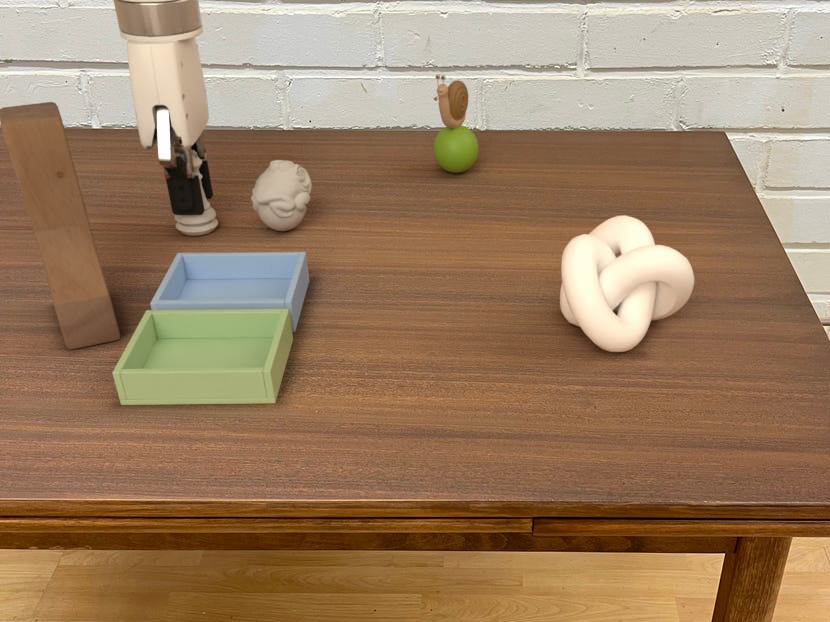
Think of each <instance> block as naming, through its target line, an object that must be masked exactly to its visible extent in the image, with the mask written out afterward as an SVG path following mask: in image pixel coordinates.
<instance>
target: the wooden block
mask: <svg viewBox="0 0 830 622" xmlns="http://www.w3.org/2000/svg"><path fill="white" fill-rule="evenodd" d="M0 128H1V132H2V134H3V138H4V141H5V144H6V147H7V151H8V154H9V157H10V160H11V164H12V166H13V169H14V173H15V177H16V180H17V183H18V186H19V190H20V193H21V196H22V200H23V202H24V206H25V209H26V213H27V216H28V218H29V222H30V225H31V228H32V232H33V235H34V238H35V242H36V245H37V248H38V252H39V255H40V259H41V261H42V265H43V269H44V272H45V276H46V278H47V284H48V287H49V291H50V295H51V300H52V304H53V308H54V311H55V314H56V318H57V321H58V325H59V327H60V331H61V334H62V337H63V341H64V345H65V346H66V347H67V349H68V350H75V349H79V348H86V347H91V346H95V345H100V344H105V343H110V342H116V341H118V340H120V338H121V333H120V328H119V326H118V325H119V324H118V321H117V317H116V314H115V310H114V306H113V302H112V299H111V295H110V292H109V288H108V284H107V281H106V278H105V275H104V271H103V267H102V264H101V260H100V257H99V256H100V255H99V253H98V249H97V246H96V242H95V241H96V240H95V238H94V235H93V230H92V227H91V223H90V219H89V215H88V212H87V209H86V205H85V201H84V197H83V193H82V190H81V185H80V182H79V178H78V175H77V171H76V167H75V163H74V160H73V156H72V152H71V148H70V145H69V141H68V138H67V137H68V136H67V134H66V130H65V129H66V128H65V126H64V122H63V119H62V115H61V113H60V109H59V106H58V104H57V103H56V102H53V101H47V102H40V103H39V102H38V103H30V104H22V105H21V104H20V105H14V106H6V107H1V108H0Z"/></svg>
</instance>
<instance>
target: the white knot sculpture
mask: <svg viewBox="0 0 830 622" xmlns="http://www.w3.org/2000/svg"><path fill="white" fill-rule="evenodd" d="M619 252H620V255H619V256H617V255H616V254H617V253H619ZM560 266H561V267H560V270H561V271H560V273H561V275H560V276H561V286H560V291H559V306H560V311H561V314H562V315H563V317H564V318H565V320H566V321H567V322H568V323H570V324H572V325H574V326H577V327H579V328H580V329H581V330H582V333H584V334H585V336H587V338H589V339H590V340H591V341H592V342H593V344H594V345H595V346H597V347H598V348H600V349H602V350H604V351H607V352H609V353H624V352H625V353H626V352H627V351H630V350H632V349H634V348H635V347H636V346H638V345H639V344H640V342H642V340H643V338H644V337H645V336H646V333H647V332H648V329H649V327H650V324H651V322H653V321H659V320H663V319H665V318H668V317H670V316H672V315H673V314H674V313H676V312H677V311H679V310H680V309H682V308H683V307H684V306H685V305H686V303H687V302H689V300H690V297H691V295H692V293H693V289H694V285H695V275H694V271H693V267H692V265H691V263H690V261H689V259H688V258H687V257H686V256H685V255H684V254H682V253H681V252H679V251H678V250H676V249H674V248H672V247H670V246H667V245H662V244H656V243H655V239H654V236H653V234H652V233H651V230H650V229H649V227H647V225H646V224H645V223H644V222H643V221H641V220H640V219H638V218H636V217H634V216H633V217H632V216H629V215H626V214H625V215H616V216H613V217H611V218H608V219H606V220H605V221H603V222H602V223H600V224H598V225H597V226H596V227H595V228H594V229H592V230H591V231H590V232H589V233H588V234H587V233H583V234H580V235H576V236H574V237H573V238H571V239H570V241H569V242H568V243H567V244H566V246H565V247H564V248H563V251H562V255H561V265H560ZM614 310H615V312H617V314H616V313H615V312H614Z"/></svg>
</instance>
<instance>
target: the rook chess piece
mask: <svg viewBox="0 0 830 622" xmlns="http://www.w3.org/2000/svg"><path fill="white" fill-rule="evenodd" d="M175 154H176V155H177V156H181V157H182V159H183V160H184V153H183V154H181V155H180V154H179V153H175ZM192 157H193V164H194V172H195V175H199V181H200V187H201V193H202V198H203V204H204V213H203V214H202V215H175V214H174V220H175V221H176V223H175V229H177V230H178V231H179V233H181V234H183V235H186V236H193V237H194V236H203V235H208V234H210V233H212V232H214V231H215V230H216V229H217V227H218V225H219V220H218V219H217V218H216V217H217V213H216V210H215V208H213V207H212V206H211V202H209V201H208V199H206V196H205V193H204V190H203V187H202V182H201V179H202V175H201V174H200V172H199V168H200V166H201V164H202V160H203V159H200V158H199V157H198V156H197V152H195V150H192ZM184 162H185V160H184Z"/></svg>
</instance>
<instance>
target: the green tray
mask: <svg viewBox="0 0 830 622" xmlns="http://www.w3.org/2000/svg"><path fill="white" fill-rule="evenodd" d="M293 341H294V335H293V332H292V326H291V319H290V312H289V309H223V310H152V309H146V310H145V312H144V313H143V316H142V318H141V319H140V321H139V323H138V325H137V326H136V328H135V330H134V332H133V334H132V336H131V337H130V339H129V341H128V343H127V345H126V346H125V349H124V350H123V352H122V354H121V356H120V358H119V360H118V361H117V363H116V365H115V366H114V369H113V371H112V372H111V374H112V378H113V382H114V385H115V388H116V392H117V396H118V399H119V402H120V405H121V406H158V405H159V406H161V405H162V406H163V405H166V406H167V405H170V406H171V405H248V404H249V405H250V404H253V405H254V404H257V405H258V404H262V405H263V404H276V402H277V400H278V395H279V392H280V389H281V384H282V382H283V377H284V374H285V371H286V368H287V363H288V360H289V356H290V352H291V349H292V346H293Z"/></svg>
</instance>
